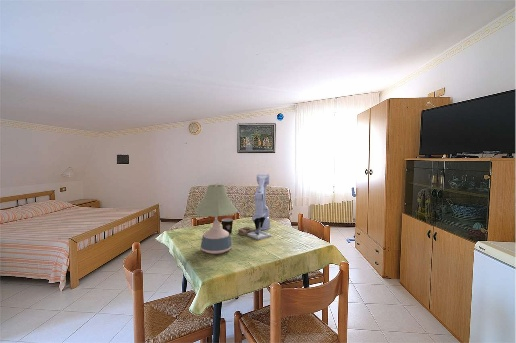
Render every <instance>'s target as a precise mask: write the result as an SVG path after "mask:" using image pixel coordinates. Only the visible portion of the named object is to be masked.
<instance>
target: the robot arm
mask: <svg viewBox="0 0 516 343" xmlns="http://www.w3.org/2000/svg"><path fill="white" fill-rule="evenodd" d="M256 182H257V184H258V186H257V187H256V189H255V190H256V192H255V193H254V197H253V198H254V207H255V209H254V210H255V211H254V214H253V216H251V220H252V221H253V224H254V225H255V226H254V227H255V230H256V229H259V222H262V224H261V227H260V231H264V230H268V229H271V220H270V217H269V216H270V214H269V213H270V210H269V209H270V208H269V207H268V206H267V205H266V204H267V203H266V201H267V200H266V199H267V186H268V185H270V174H268V173H267V174H266V173H265V174H264V173H263V174H262V173H257V174H256Z"/></svg>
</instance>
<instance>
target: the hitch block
mask: <svg viewBox="0 0 516 343" xmlns="http://www.w3.org/2000/svg"><path fill="white" fill-rule="evenodd" d="M255 231H256V228H253V227H250V226H247V227H241V228H238V230H237V234H239V235H241V236H244V237H246V236H247V237H248V233H251V232H255Z"/></svg>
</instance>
